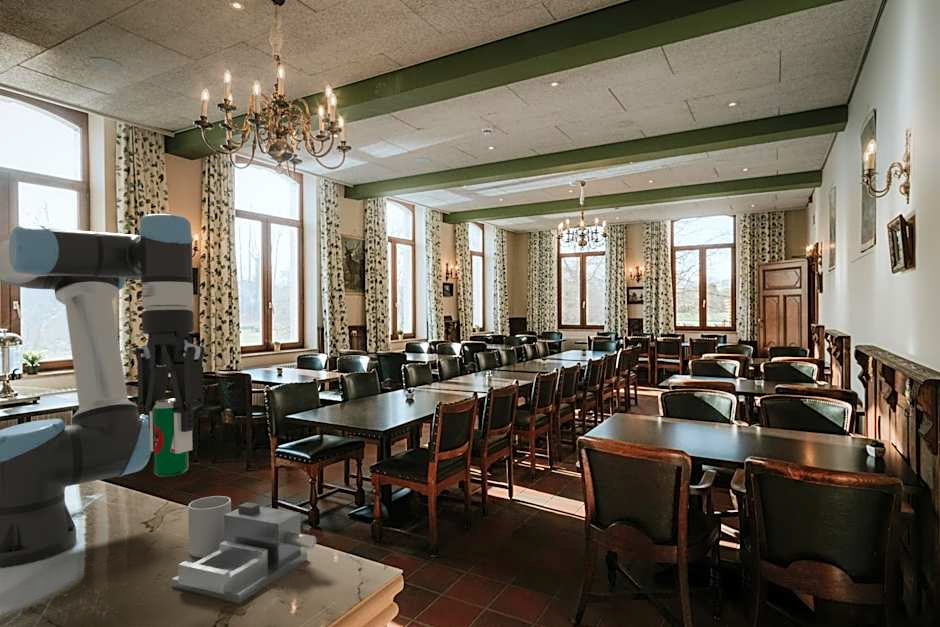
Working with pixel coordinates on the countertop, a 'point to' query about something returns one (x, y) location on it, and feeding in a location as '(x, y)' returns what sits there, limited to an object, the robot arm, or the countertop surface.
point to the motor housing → (248, 554)
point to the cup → (207, 524)
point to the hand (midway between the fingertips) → (171, 450)
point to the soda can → (166, 441)
